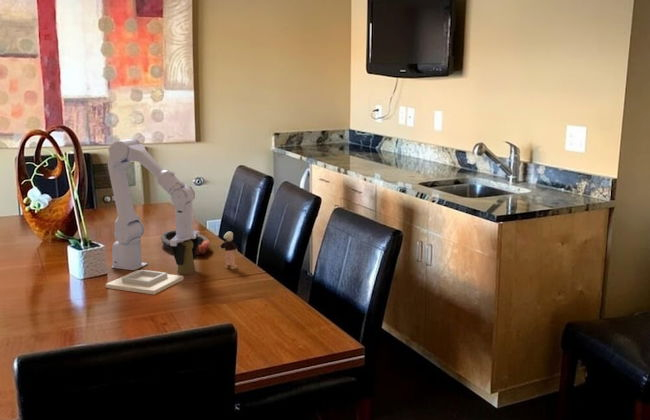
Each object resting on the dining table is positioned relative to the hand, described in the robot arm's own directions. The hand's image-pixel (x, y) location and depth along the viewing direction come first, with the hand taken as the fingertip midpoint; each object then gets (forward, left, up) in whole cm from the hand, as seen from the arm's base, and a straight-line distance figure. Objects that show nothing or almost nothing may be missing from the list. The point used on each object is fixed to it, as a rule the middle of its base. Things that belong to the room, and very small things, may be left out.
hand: (186, 261), depth 229 cm
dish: (-17, +26, -4) cm, 31 cm away
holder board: (-5, -16, -3) cm, 17 cm away
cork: (0, 0, -4) cm, 4 cm away
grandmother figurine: (+11, +10, -4) cm, 15 cm away
